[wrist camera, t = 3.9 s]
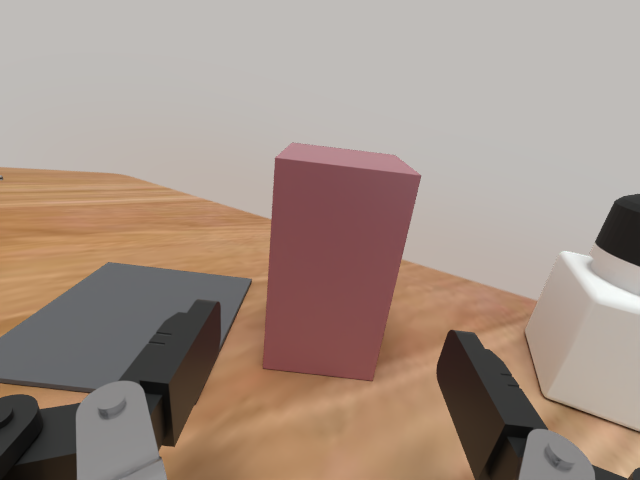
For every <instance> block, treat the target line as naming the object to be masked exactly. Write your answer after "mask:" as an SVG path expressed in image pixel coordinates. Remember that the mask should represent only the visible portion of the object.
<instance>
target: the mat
mask: <svg viewBox="0 0 640 480" xmlns="http://www.w3.org/2000/svg"><path fill="white" fill-rule="evenodd" d="M251 282H252V279H248V278H239V277H231V276H222V275H213V274H205V273H196V272H188V271H179V270H171V269H162V268H154V267H145V266H137V265H128V264H120V263H111V262H108V263H107V264H105V265H104V266H102V267H101V268H99V269H98V270H97V271H95V272H94V273H92V274H91V275H89V276H88V277H87V278H85V279H84V280H82V281H81V282H79V283H78V284H76V285H75V286H74V287H72V288H71V289H69V290H68V291H66V292H65V293H64V294H62V295H61V296H59V297H58V298H56V299H55V300H53V301H52V302H51V303H49V304H48V305H46V306H45V307H43V308H42V309H40V310H39V311H38V312H36V313H35V314H33V315H32V316H30V317H29V318H28V319H26V320H25V321H23V322H22V323H20V324H19V325H17V326H16V327H15V328H13V329H12V330H10V331H9V332H7V333H6V334H5V335H3V336H2V337H0V383H9V384H17V385H26V386H35V387H44V388H53V389H62V390H71V391H80V392H89V393H92V392H93V391H95V390H96V389H98V388H100V387H102V386H104V385H106V384H109V383H112V382H117V381H118V380H119V379H120V378H121V376H122V375H123V374H124V372H125V371H126V370H127V369H128V367H129V366H130V365H131V363H132V362H133V361H134V360H135V358H136V357H137V356H138V355H139V353H140V352H141V351H142V349H143V348H144V347H145V346H146V344H148V343H149V340H150V339H151V338H152V337H153V335H154V334H156V332H157V330H158V329H159V328H160V326H161V325H162V324H163V323H164V321H165V320H167V319H168V318H170V317H171V316H173V315H175V314H176V313H178V312H183V313H187V312H188V310H189V309H190V308H191V306H192V305H193V303H194V302H195V301H196V300H197V299H201V300H210V301H218V302H220V305H221V342H220V347H219V351H218V354H219V352H220V350H221V347H222V345H223V343H224V341H225V339H226V337H227V334H228V332H229V330H230V328H231V326H232V323H233V321H234V319H235V317H236V315H237V313H238V310H239V308H240V306H241V304H242V302H243V300H244V297H245V295H246V293H247V291H248V289H249V286H250V284H251ZM218 354H217V356H218ZM217 356H216V358H217ZM215 361H216V359H215ZM215 361H214V363H215ZM214 363H213V365H214ZM213 365H212V367H213ZM212 367H211V369H212ZM211 369H210V371H211ZM209 374H210V372H209ZM209 374H208V376H209ZM208 376H207V378H208ZM207 378H206V380H207ZM206 380H205V382H206ZM205 382H204V384H205ZM204 384H203V387H204ZM203 387H202V389H203ZM202 389H201V391H202ZM201 391H200V393H201ZM200 393H199V395H200ZM199 395H198V397H197V400H198V398H199ZM197 400H196V402H197ZM196 402H195V404H196Z"/></svg>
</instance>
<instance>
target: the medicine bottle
mask: <svg viewBox="0 0 640 480" xmlns="http://www.w3.org/2000/svg"><path fill="white" fill-rule="evenodd" d="M590 255H591V256H586V255H582V254H577V253H573V252H568V251H562V252H560V254H559V255H558V257H557V259H556V262H555V264H554V266H553V268H552V271H551V273H550V275H549V277H548V279H547V282H546V284H545V286H544V288H543V291H542V293H541V295H540V298H539V300H538V302H537V304H536V306H535V309H534V311H533V313H532V315H531V317H530V320H529V322H528V324H527V326H526V329H525V334H526V337H527V341H528V344H529V348H530V352H531V355H532V359H533V362H534V366H535V369H536V373H537V377H538V380H539V384H540V387H541V391H542V393H543V395H544V396H545V397H546V398H548V399H551V400H554V401H556V402H559V403H562V404H565V405H567V406H570V407H573V408H576V409H578V410H581V411H584V412H587V413H590V414H592V415H595V416H598V417H601V418H603V419H606V420H609V421H612V422H614V423H617V424H620V425H623V426H625V427H628V428H631V429H634V430H637V431H639V432H640V194H635V195H628V196H623V197H621V198H619V199H618V200H616V201H615V202H614V204H613V206H612V208H611V210H610V212H609V214H608V216H607V218H606V220H605V222H604V225H603V226H602V229H601V231H600V233H599V235H598V237H597V239H596V241H595V243H594V245H593V247H592V249H591V251H590Z"/></svg>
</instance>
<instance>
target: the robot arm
mask: <svg viewBox="0 0 640 480" xmlns="http://www.w3.org/2000/svg"><path fill="white" fill-rule="evenodd" d="M220 342H221V305H220V302H218V301H210V300H201V299H197V300H196V301H195V302H194V303H193V305H192V306H191V308H190V309H189V310H188V312H187V313H183V312H178V313H176V314H175V315H173V316H171V317H170V318H168V319H167V320H165V321H164V323H163V324H162V325H161V326H160V328H159V329H158V330H157V332H156V334H154V335H153V337H152V338H151V339H150V340H149V343H148V344H146V346H145V347H144V348H143V349H142V351H141V352H140V353H139V355H138V356H137V357H136V358H135V360H134V361H133V362H132V363H131V365H130V366H129V367H128V369H127V370H126V371H125V372H124V374H123V375H122V376H121V378H120V379H119V380H118V381H117V382H112V383H109V384H106V385H104V386H102V387H100V388H98V389H96V390H95V391H93V392H92V393H90V394H89V395H88V396H87V397H86V398H85V399H84V400H83V401H82V402H81V403H77V404H71V405H65V406H58V407H52V408H46V409H39V406H38V403H37V401H36V399H35V398H33V397H32V396H29V395H23V394H18V395H10V396H5V397H2V398H0V480H167V477H166V473H165V468H164V465H163V461H162V458H161V457H160V456H159V452H158V451H159V449H160V447H161V445H163V446H172V447H175V445H176V443H177V441H178V438H179V436H180V434H181V432H182V430H183V428H184V425H185V423H186V421H187V419H188V417H189V415H190V412H191V410H192V408H193V406H194V404H195V402H196V400H197V397H198V395H199V393H200V391H201V389H202V387H203V384H204V382H205V380H206V378H207V376H208V374H209V372H210V369H211V367H212V365H213V363H214V361H215V359H216V356H217V354H218V351H219V347H220ZM437 380H438V383H439V386H440V389H441V391H442V394H443V397H444V399H445V402H446V404H447V407H448V410H449V412H450V415H451V418H452V420H453V423H454V425H455V428H456V431H457V433H458V436H459V439H460V441H461V444H462V447H463V449H464V452H465V454H466V457H467V460H468V462H469V465H470V468H471V470H472V473H473V475H474V478H475V480H640V468H637V469H635V470H634V472H633V473H632V474H631V475H630V477H629V478H628V479H627V478H624V477H622V476H619V475H617V474H614V473H612V472H609V471H607V470H604V469H601V468H599V467H596V466H594V465H591V463H590V461H589V460H588V458H587V457H586V456H585V455H584V453H583V452H582V451H581V450H580V449H579V448H578V447H577V446H575V445H574V444H573V443H572V442H570V441H569V440H568V439H566V438H564V437H563V436H561V435H559V434H557V433H555V432H552V431H549V430H548V428H547V427H546V425H545V424H544V422H543V421H542V419H541V418H540V416H539V415H538V413H537V412H536V410H535V409H534V407H533V406H532V404H531V403H530V401H529V400H528V398H527V397H526V395H525V394H524V392H523V391H522V389H520V388H519V385H518V383H517V382H516V380H515V379H514V377H512V374H511V373H510V371H509V370H508V368H507V367H506V365H505V364H504V362H503V361H502V360H501V359H500V358H498V357H497V356H496V355H495V354H494V353H493V352H492V351H491V350H489V349H485V348H484V347H483V345H482V343H481V342H480V340H479V339H478V337H477V335H476V334H475V333H473V332H464V331H456V330H450V331H449V332H448V334H447V337H446V340H445V343H444V346H443V349H442V352H441V355H440V357H439V360H438V364H437Z"/></svg>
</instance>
